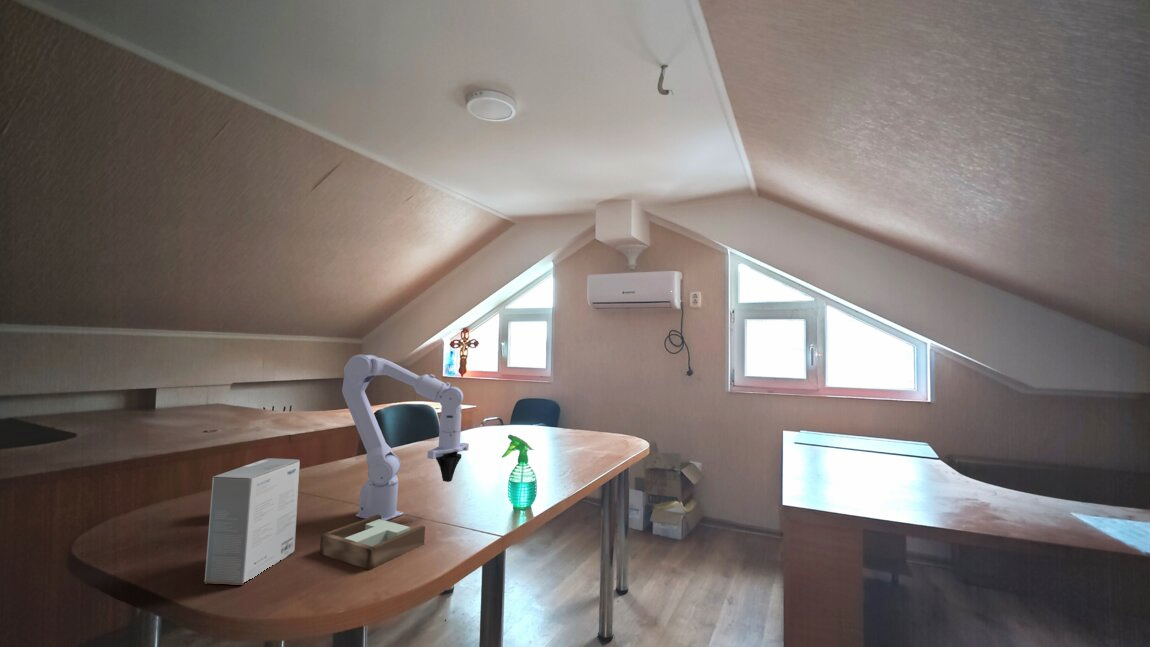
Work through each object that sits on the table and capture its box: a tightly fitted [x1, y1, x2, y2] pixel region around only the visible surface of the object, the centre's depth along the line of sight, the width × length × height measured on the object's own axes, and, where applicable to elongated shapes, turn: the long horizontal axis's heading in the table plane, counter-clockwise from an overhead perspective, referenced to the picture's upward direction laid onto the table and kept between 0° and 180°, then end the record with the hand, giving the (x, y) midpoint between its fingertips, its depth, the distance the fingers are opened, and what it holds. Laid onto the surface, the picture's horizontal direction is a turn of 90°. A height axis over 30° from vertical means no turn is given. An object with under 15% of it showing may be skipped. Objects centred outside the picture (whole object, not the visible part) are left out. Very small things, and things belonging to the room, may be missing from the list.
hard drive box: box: [204, 457, 301, 583], centre depth 93 cm, size 16×8×20 cm, turn 178°
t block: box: [345, 519, 411, 546], centre depth 103 cm, size 10×12×4 cm
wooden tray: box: [319, 515, 426, 571], centre depth 104 cm, size 15×15×4 cm
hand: (447, 481), depth 127 cm, fingers closed
